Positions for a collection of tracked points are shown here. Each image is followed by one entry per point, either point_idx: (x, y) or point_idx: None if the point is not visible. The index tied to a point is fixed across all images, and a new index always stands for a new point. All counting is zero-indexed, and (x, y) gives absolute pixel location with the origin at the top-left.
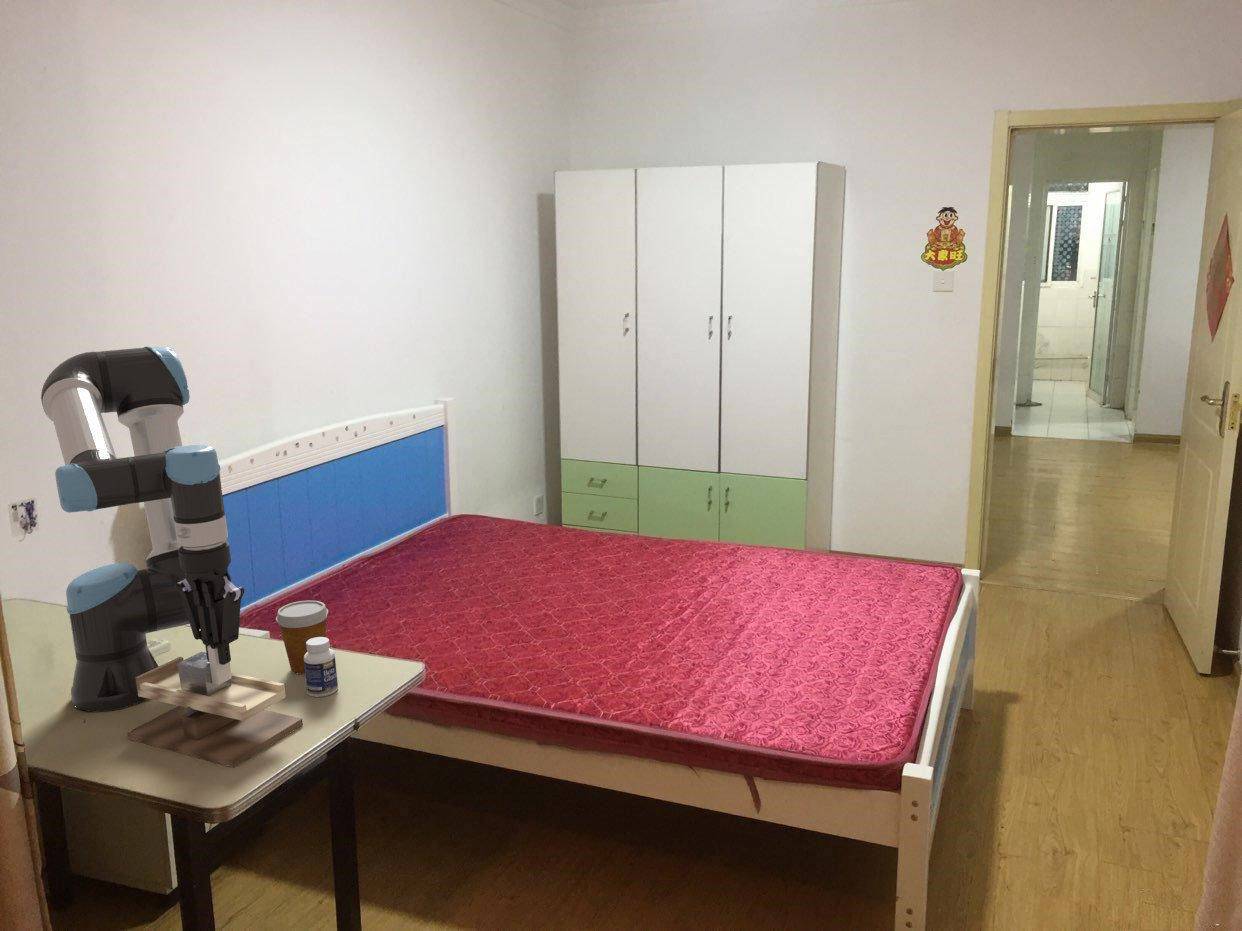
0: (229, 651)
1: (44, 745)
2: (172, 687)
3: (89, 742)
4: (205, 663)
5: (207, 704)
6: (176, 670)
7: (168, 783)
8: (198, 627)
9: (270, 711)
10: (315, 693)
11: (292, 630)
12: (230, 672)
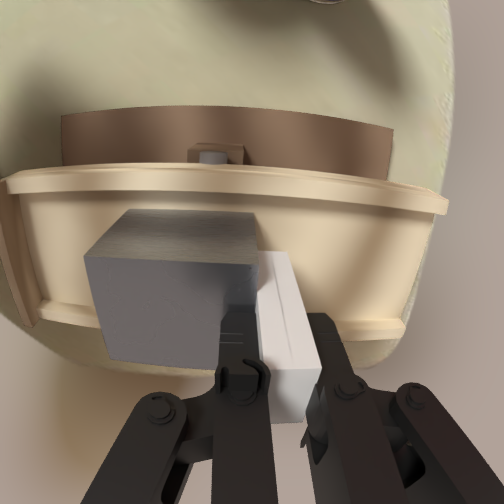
0: (342, 349)
1: (23, 325)
2: None
3: None
4: (215, 342)
5: None
6: (17, 205)
7: None
8: (177, 494)
9: (298, 113)
10: (331, 2)
11: None
12: (290, 264)
